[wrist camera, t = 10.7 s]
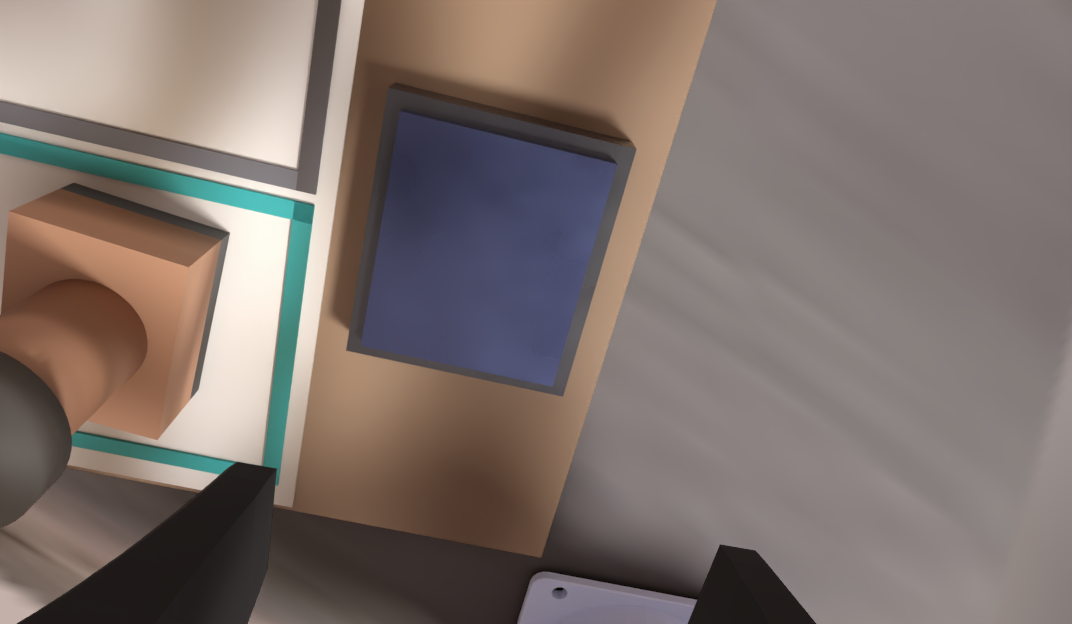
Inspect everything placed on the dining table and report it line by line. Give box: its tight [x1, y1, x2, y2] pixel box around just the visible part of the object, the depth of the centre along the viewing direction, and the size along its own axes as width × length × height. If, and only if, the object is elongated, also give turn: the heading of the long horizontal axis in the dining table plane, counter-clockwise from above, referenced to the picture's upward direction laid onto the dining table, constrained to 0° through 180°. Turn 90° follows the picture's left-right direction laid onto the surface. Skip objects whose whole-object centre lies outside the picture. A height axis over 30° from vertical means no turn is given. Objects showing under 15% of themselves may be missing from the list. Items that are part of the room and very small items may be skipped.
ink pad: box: [346, 82, 637, 397], centre depth 19 cm, size 6×7×1 cm
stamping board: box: [0, 0, 717, 558], centre depth 20 cm, size 18×20×1 cm
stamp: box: [0, 183, 230, 528], centre depth 17 cm, size 5×4×8 cm
